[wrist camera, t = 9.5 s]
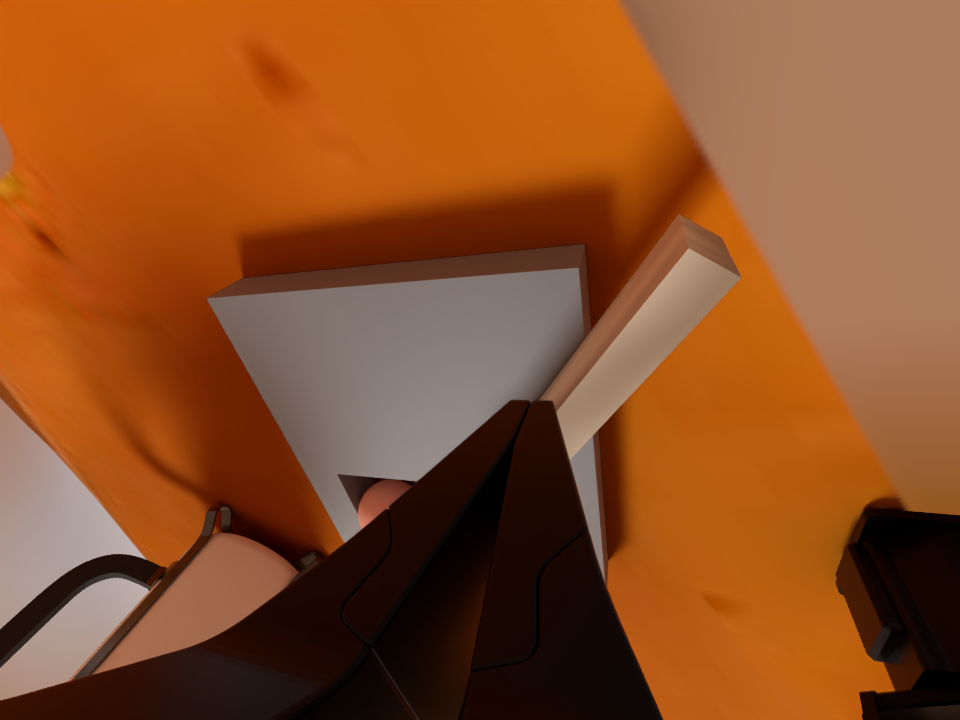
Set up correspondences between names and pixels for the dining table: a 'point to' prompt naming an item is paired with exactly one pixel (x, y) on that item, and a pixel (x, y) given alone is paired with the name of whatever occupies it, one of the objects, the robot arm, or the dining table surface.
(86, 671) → the coffee press
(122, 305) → the dining table surface
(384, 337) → the board
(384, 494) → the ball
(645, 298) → the lever
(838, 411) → the dining table surface
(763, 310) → the dining table surface
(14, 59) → the dining table surface
